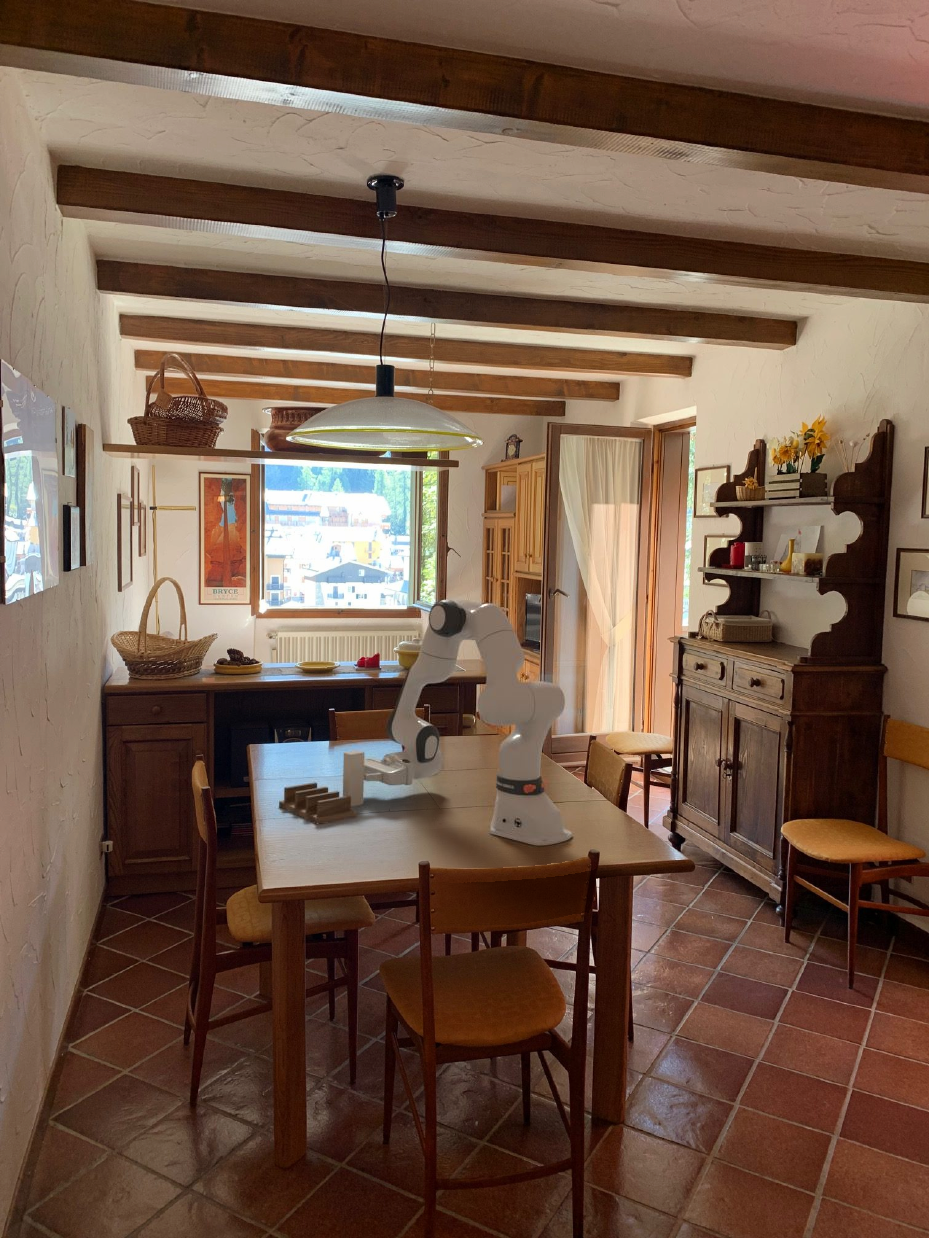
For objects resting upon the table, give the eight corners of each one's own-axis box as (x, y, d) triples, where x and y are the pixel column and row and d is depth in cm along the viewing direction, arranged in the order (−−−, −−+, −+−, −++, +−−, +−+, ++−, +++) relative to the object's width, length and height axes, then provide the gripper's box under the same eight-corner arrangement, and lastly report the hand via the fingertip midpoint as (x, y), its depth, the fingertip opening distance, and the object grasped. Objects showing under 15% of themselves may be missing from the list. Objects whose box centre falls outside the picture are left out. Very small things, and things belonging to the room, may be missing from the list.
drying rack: (355, 816, 251) (356, 796, 251) (317, 824, 243) (318, 803, 243) (315, 799, 266) (316, 780, 265) (278, 806, 258) (279, 787, 258)
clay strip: (363, 804, 263) (364, 752, 262) (348, 807, 260) (349, 754, 258) (357, 801, 265) (358, 750, 264) (342, 804, 262) (343, 752, 261)
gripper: (373, 750, 279) (335, 756, 270) (416, 764, 264) (376, 770, 254) (373, 771, 279) (334, 777, 270) (415, 785, 264) (376, 793, 255)
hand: (355, 774), depth 262 cm, fingers open, 8 cm apart
